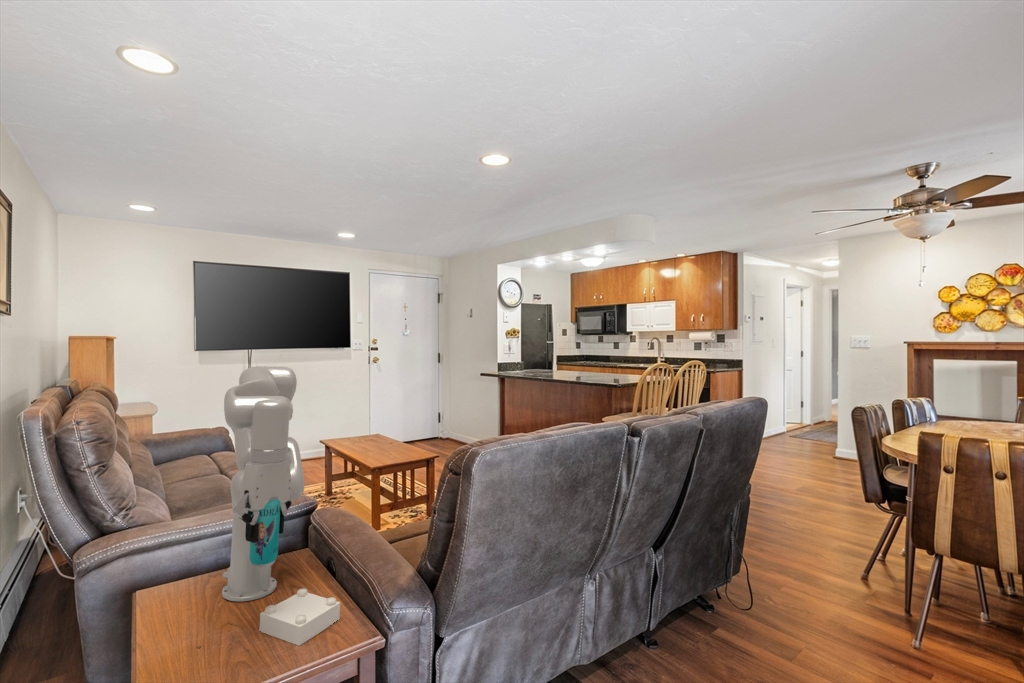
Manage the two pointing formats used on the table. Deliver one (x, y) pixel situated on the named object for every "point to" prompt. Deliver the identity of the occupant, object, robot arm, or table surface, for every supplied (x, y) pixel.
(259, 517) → the beverage can
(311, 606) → the brick
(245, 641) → the table surface
